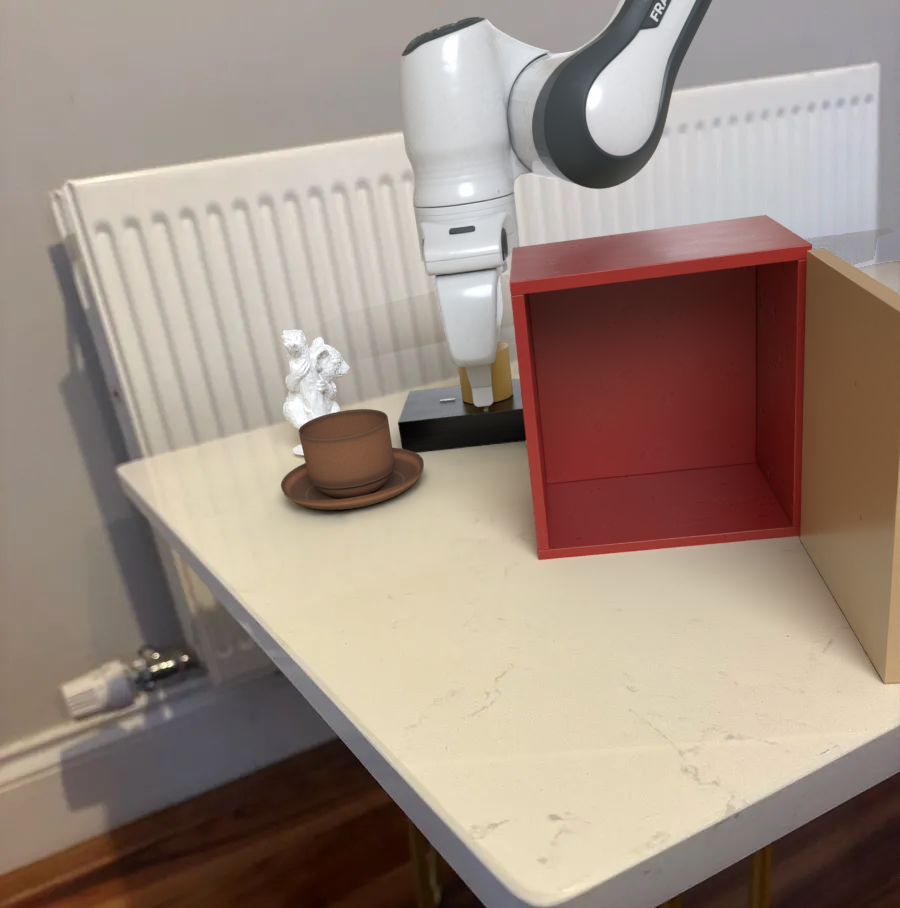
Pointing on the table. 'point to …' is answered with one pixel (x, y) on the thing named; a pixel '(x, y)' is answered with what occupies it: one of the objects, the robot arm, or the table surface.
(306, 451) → the cup and saucer
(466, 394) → the valve knob
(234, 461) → the table surface
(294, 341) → the white sculpted figure
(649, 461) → the cabinet
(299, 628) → the table surface
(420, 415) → the valve panel
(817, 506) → the cabinet door
